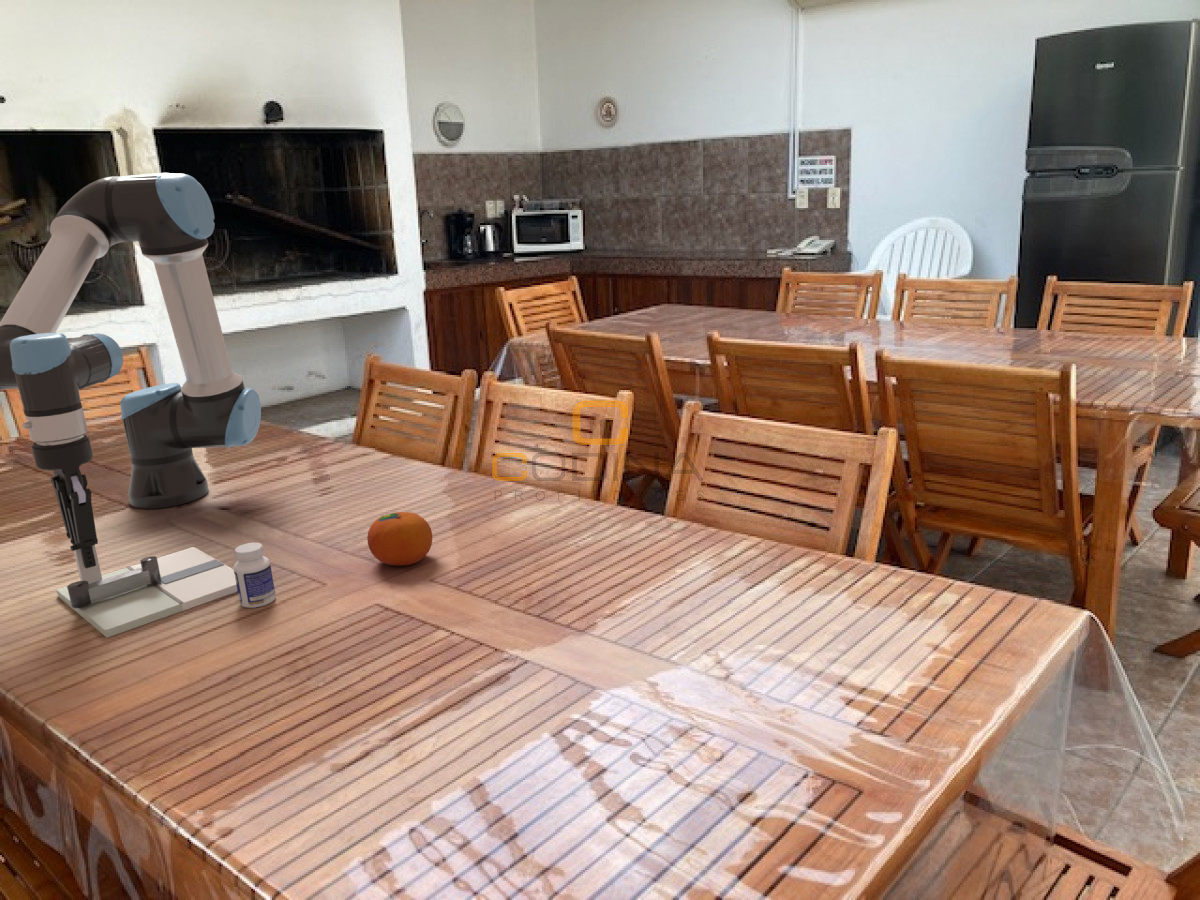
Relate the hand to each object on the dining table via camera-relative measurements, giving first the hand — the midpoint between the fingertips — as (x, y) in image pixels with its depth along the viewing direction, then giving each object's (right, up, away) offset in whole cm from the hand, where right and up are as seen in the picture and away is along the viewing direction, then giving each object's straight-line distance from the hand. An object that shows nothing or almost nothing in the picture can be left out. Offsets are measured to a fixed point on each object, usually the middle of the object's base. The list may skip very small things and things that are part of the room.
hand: (92, 584), depth 146 cm
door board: (+8, -2, +3) cm, 9 cm away
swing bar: (+4, -1, -1) cm, 5 cm away
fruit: (+46, +2, +10) cm, 47 cm away
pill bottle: (+27, -2, -2) cm, 27 cm away
